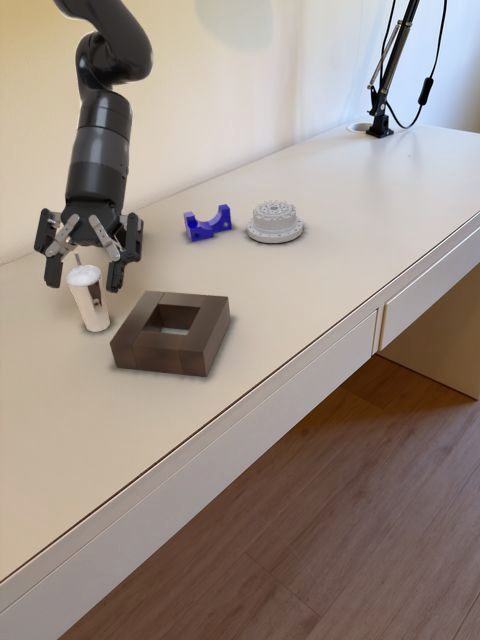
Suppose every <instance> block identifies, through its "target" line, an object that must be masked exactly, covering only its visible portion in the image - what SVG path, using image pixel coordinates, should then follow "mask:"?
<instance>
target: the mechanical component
mask: <svg viewBox="0 0 480 640" xmlns="http://www.w3.org/2000/svg"><path fill="white" fill-rule="evenodd" d="M303 231H304V222H303V220H302V219H301V218H300V217H299V216H297V209H296V206H295V205H294V204H292V203H288V202H287V201H285V200H284V201H278V200H276V199H275V200H274V201H273V200H269V201H264V202H263V203H261V204H256V207H254V208H253V209H252V218H250V219H249V220H248V221H247V223H246V233H247V235H248V237H249V238H251V239H253V240H254V241H257V242H260V243H266V244H280V243H286V242H289V241H290V242H291V241H293V240H295V239H297V238H298V237H300V236H301V235H302V233H303Z"/></svg>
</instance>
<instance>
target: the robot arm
mask: <svg viewBox="0 0 480 640" xmlns="http://www.w3.org/2000/svg"><path fill="white" fill-rule="evenodd" d="M52 2H53V3H54V5H55V7H56V8H57V11H59V12H60V14H61V15H62V16H63V17H65V18H66V19H69V20H74V21H75V20H76V21H82V22H83V21H84V22H86V23H89V24H90V25H91V26H92V27H93V28H94V29H95V30H92V31H89V32H86V33H85V34H84V35H83V36H81V38H80V39H79V41H78V43H77V44H76V48H75V51H74V68H75V76H76V82H77V84H76V85H77V91H78V97H79V98H78V99H79V111H78V117H77V123H76V132H75V135H74V140H73V143H72V146H71V150H70V158H69V165H68V171H67V177H66V184H65V191H64V201H65V205H64V208H63V210H62V211H61V212H58V211H52V210H50V209H49V208H47V207H44V208H43V209H41V211H40V214H39V219H38V220H39V221H38V224H37V229H36V233H35V239H34V243H33V250H34V251H35V252H37V253H39V254H41V255H43V256H44V257H45V259H46V260H45V267H44V274H43V280H44V282H45V284H46V286H47V287H49V288H52V289H58V290H59V289H60V287H61V281H62V274H63V268H64V262H63V260H64V259H65V258H66V256H68V254H70V252H73V251H75V250H76V249H77V247H78V246H80V247H86V248H87V247H96V248H104V249H106V251H107V253H108V255H109V257H110V258H111V261H109V262H108V268H107V276H106V283H105V290H106V292H109V293H110V294H118V293H119V290H121V289H122V288H123V285H124V278H125V270H126V266H127V265H128V264H131V263H139V262H140V261H141V260H142V251H143V237H144V225H145V224H144V220H143V218H141V217H140V216H139V215H138V214H136V213H135V212H133V211H132V212H131V211H130V212H129V213H128V214H127V215H126V214H122V213H123V209H124V204H125V198H126V190H127V182H128V177H129V172H130V171H129V170H130V168H129V167H130V145H131V139H132V138H131V137H132V131H133V125H134V124H133V123H134V109H133V106H132V103H131V102H130V100H129V99H128V98H126V97H125V96H124V95H122V94H121V93H119V92H117V91H114V90H115V87H120V86H123V85H128V84H134V83H138V82H141V81H144V80H146V79H147V78H148V77H150V76H151V74H152V72H153V68H154V63H155V62H154V61H155V60H154V59H155V58H154V51H153V50H154V49H153V47H152V43H151V40H150V39H149V37H148V34H147V33H146V31H145V30H144V29H145V28H143V26H142V25H141V23H140V22H139V21H138V20H137V18H136V16H134V14H133V13H132V12H131V10H129V8H128V7H127V6H126V5H125V3H124V2H123V1H122V0H52ZM61 224H62V226H63V227H62V228H61ZM123 225H124V229H125V230H126V244H125V245H124V250H123V247H122V245H120V243H119V242H118V240H117V238H116V236H115V234H116V233H117V232H118V231H119V230H120V228H121V227H122V226H123ZM60 228H61V229H60ZM58 229H59V231H58ZM57 231H58V232H57ZM68 238H69V239H68Z"/></svg>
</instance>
